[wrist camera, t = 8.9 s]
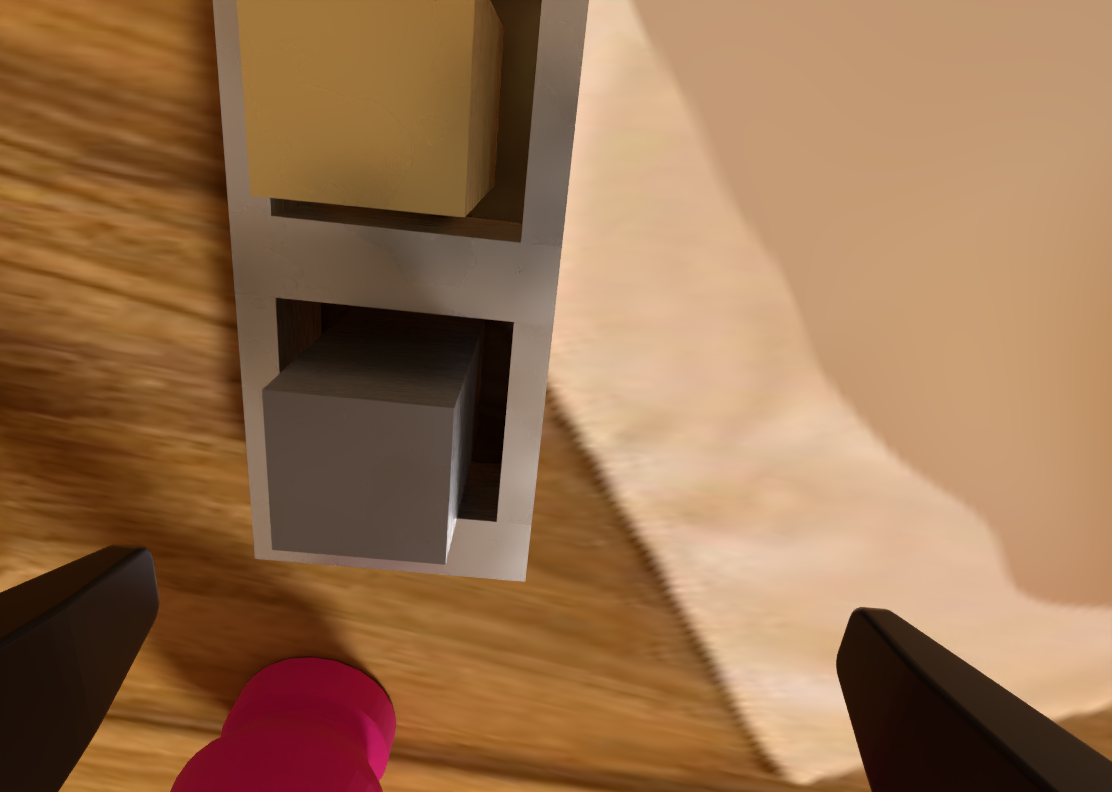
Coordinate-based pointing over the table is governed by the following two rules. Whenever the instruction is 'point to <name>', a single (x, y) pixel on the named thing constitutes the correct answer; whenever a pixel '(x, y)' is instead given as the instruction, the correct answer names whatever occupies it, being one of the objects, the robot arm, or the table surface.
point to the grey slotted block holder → (396, 349)
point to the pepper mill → (299, 734)
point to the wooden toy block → (372, 101)
